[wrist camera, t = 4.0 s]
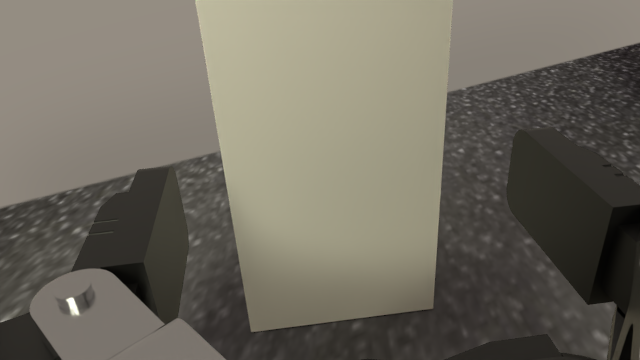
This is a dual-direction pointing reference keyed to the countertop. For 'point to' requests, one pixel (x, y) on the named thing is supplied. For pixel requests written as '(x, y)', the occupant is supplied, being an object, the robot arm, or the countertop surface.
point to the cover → (331, 151)
